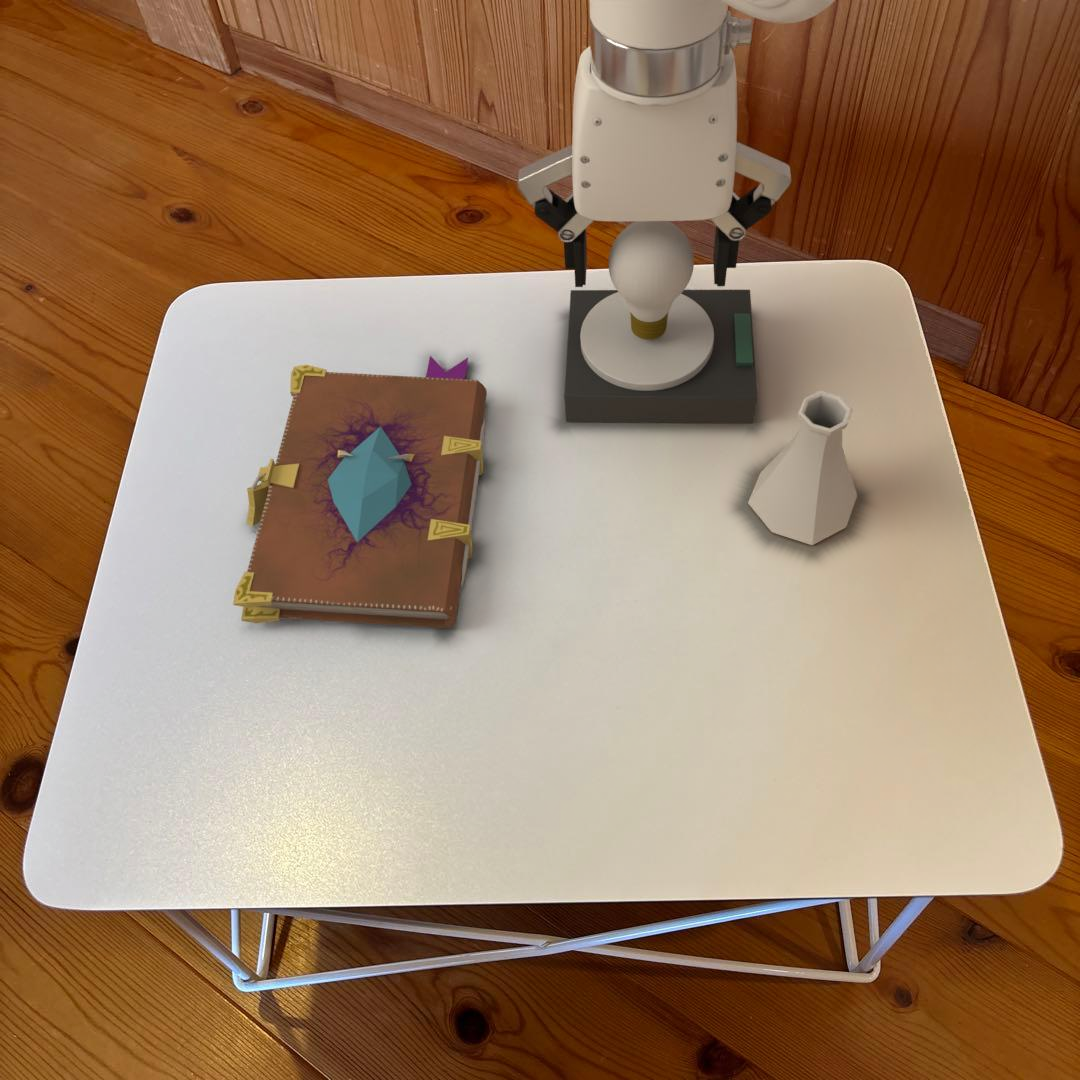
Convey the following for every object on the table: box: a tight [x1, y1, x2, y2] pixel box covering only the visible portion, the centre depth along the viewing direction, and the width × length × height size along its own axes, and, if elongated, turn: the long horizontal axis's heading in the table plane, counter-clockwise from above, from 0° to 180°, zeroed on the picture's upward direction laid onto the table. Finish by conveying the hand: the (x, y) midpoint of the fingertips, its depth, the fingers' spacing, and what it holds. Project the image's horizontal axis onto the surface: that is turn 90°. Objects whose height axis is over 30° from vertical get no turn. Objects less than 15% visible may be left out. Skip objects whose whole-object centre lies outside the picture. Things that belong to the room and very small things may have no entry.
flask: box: [747, 390, 858, 546], centre depth 69 cm, size 7×7×10 cm
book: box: [232, 355, 488, 629], centre depth 75 cm, size 16×25×5 cm, turn 176°
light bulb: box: [608, 221, 695, 340], centre depth 74 cm, size 6×6×10 cm
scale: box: [563, 289, 758, 424], centre depth 79 cm, size 14×11×4 cm
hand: (649, 272), depth 73 cm, fingers open, 9 cm apart
